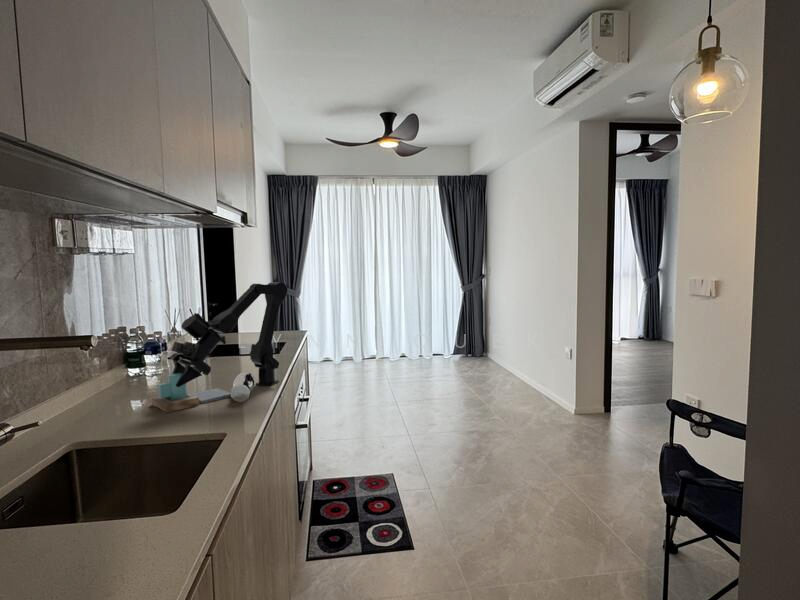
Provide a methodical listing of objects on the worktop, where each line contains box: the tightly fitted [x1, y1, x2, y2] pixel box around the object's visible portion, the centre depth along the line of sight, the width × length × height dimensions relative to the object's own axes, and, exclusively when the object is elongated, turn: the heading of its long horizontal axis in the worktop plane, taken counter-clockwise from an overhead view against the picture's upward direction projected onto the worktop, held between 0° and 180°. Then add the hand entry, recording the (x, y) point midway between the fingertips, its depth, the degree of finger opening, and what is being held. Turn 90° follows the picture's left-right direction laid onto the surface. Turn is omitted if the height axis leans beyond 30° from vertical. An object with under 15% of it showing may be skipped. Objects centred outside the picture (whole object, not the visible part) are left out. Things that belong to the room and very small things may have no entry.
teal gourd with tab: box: [157, 372, 188, 401], centre depth 152 cm, size 8×5×10 cm, turn 139°
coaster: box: [187, 387, 232, 405], centre depth 161 cm, size 11×11×1 cm
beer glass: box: [230, 371, 255, 403], centre depth 162 cm, size 7×7×15 cm
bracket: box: [151, 395, 200, 413], centre depth 152 cm, size 10×12×2 cm
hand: (173, 384), depth 152 cm, fingers closed on teal gourd with tab, 5 cm apart
